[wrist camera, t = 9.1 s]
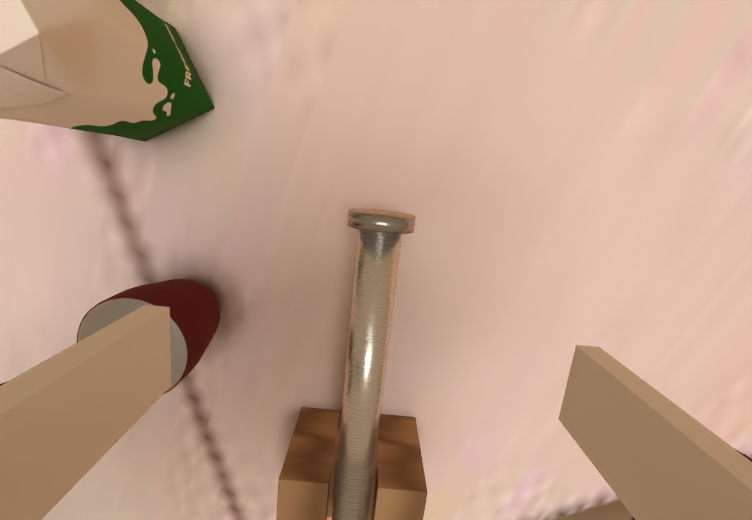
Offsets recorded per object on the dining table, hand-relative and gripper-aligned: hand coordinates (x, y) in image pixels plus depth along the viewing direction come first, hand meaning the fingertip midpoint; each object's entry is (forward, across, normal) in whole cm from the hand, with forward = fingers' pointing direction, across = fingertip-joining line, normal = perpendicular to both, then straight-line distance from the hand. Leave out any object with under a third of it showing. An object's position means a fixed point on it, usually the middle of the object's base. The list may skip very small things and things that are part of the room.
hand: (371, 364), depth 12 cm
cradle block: (+24, 0, -21) cm, 32 cm away
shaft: (+17, 0, -9) cm, 19 cm away
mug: (+24, -18, -8) cm, 31 cm away
